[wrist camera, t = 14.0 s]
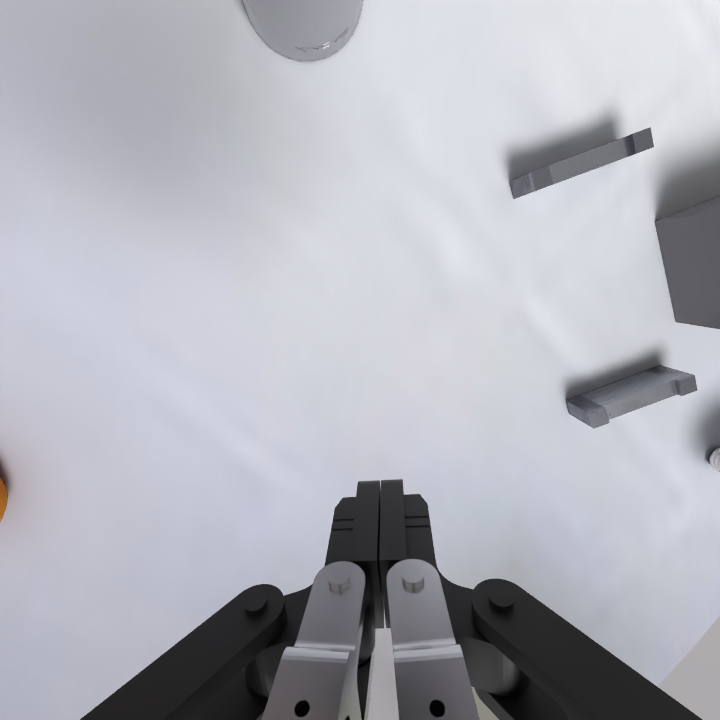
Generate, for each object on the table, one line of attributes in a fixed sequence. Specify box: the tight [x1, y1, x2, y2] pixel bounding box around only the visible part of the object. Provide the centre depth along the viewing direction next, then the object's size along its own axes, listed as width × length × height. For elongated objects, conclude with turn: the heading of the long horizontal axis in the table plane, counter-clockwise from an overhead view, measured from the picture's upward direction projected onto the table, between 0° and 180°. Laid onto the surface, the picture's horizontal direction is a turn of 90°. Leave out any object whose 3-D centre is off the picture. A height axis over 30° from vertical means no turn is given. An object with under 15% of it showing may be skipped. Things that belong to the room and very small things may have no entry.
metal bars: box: [510, 128, 697, 428], centre depth 38 cm, size 23×10×4 cm, turn 20°
